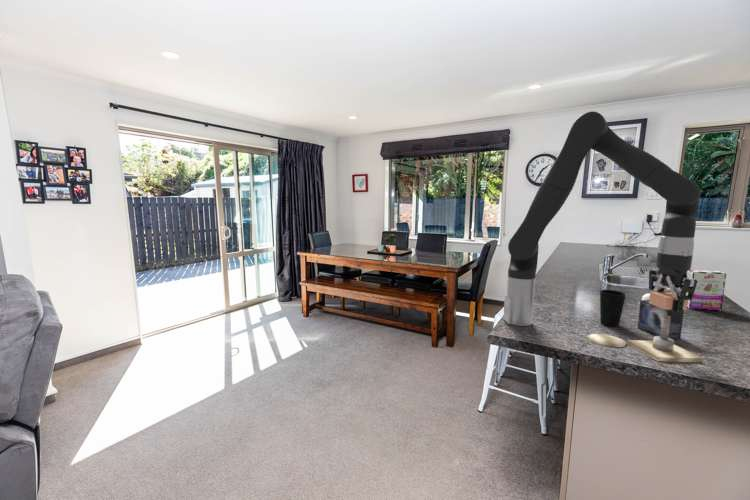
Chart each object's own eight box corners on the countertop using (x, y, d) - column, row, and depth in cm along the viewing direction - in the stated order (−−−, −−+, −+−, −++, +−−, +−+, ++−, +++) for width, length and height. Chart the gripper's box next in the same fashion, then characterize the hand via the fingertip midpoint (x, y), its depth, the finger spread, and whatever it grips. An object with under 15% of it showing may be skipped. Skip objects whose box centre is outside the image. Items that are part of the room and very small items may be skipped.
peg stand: (657, 361, 94) (661, 322, 92) (627, 343, 105) (630, 309, 104) (701, 362, 93) (707, 323, 92) (666, 344, 105) (670, 310, 103)
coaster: (600, 346, 103) (600, 345, 103) (582, 334, 113) (582, 333, 113) (633, 347, 102) (634, 346, 102) (612, 335, 112) (612, 334, 112)
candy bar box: (713, 308, 143) (719, 270, 141) (721, 311, 138) (727, 272, 136) (681, 305, 146) (686, 269, 144) (688, 309, 142) (693, 271, 140)
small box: (635, 327, 120) (638, 299, 118) (652, 327, 120) (655, 299, 119) (663, 339, 109) (667, 308, 108) (681, 339, 110) (685, 308, 108)
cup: (626, 328, 118) (630, 295, 117) (602, 327, 120) (606, 294, 118) (615, 321, 126) (619, 290, 124) (593, 319, 127) (596, 289, 126)
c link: (664, 309, 95) (666, 297, 94) (648, 303, 100) (650, 291, 100) (686, 310, 94) (688, 298, 94) (669, 303, 100) (670, 292, 100)
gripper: (642, 248, 102) (635, 301, 105) (683, 255, 88) (674, 317, 91) (667, 249, 102) (660, 302, 104) (712, 256, 88) (703, 318, 90)
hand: (666, 309), depth 97 cm, fingers closed on c link, 6 cm apart
